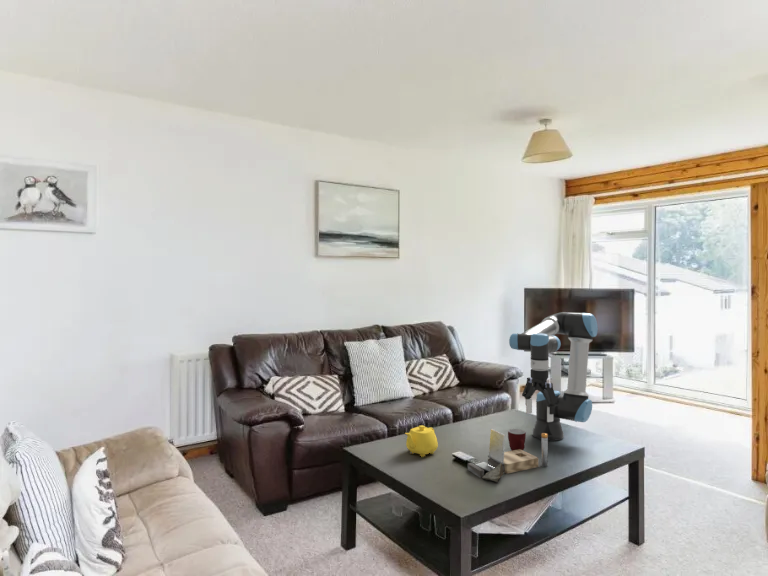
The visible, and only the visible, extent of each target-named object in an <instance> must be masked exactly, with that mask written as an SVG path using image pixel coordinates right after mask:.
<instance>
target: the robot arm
mask: <svg viewBox="0 0 768 576" xmlns="http://www.w3.org/2000/svg"><path fill="white" fill-rule="evenodd" d="M598 328H599V327H598V322H597V319H596V317H595V315H594V314H593V313H588V312H568V311H567V312H566V311H562V312H561V311H560V312H558V313H556V312H555V313H554V314H551V315H548V316H547V317H544V319H542V320H541V322H540V323H538V324H535V325H534V326H532V327H531V328H529V329H527V330H525V331H524V332H522V333H519V332H518V333H512V334H510V336H509V340H508V341H509V342H508V343H509V347H510V349H512V350H517V351H526V352H530V377H527V378H526V382H525V386H524V388H523V391H522V394H521V396H522V397H524V399H525V414H526V415H529V414H530V415H531V414H533V399H532V397H533V396H534V393H536V391H537V392H538V393H536V398H535V399H536V400H535V405H536V406H535V407H536V409H535V412H536V417H535V419H536V420H535V424H534V427H533V429H532V436H533V437H534V438H536V439H539V440H541V434H542V433H547V434H548V441H560V440H562V439H564V436H565V434H564V430H563V426H562V424H561V420H566V421H571V422H576V423H577V422H578V423H586V422H587V421H588V420H589V418H590V416H591V414H592V410H593V402H592V400H591V399H590V398H589V394H588V393H587V392H586V389H587V376H588V363H589V361H588V360H589V348H590V343H592V342H593V339H594V338H595V337H597V335H598V331H599V330H598ZM556 335H566V336H567V339H568V340H569V341H570V348H569V349H570V350H569V362H568V363H569V364H568V375H567V389H566V390H564V391H563V395H561V391H559V390H555V389H554V383H553V382H548V379H549V375H550V374H549V365H550V364H549V362H550V360H549V354H551V353H555V352H557V351H558V350H559V349H561V345H562V344H561V340H560V339H559V337H558V336H556Z"/></svg>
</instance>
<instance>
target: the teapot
mask: <svg viewBox="0 0 768 576" xmlns="http://www.w3.org/2000/svg"><path fill="white" fill-rule="evenodd" d="M404 434H405V435H406V436H407V437H406V441H405V442H406V443H405V446H406V448H407V449H408V451H410V452H412V453H415V454H416V455H417V454H418V455H419V457H420V456H421V457H420V458H425V457H426V455H428V454H429V453H430V455H433V454H435V452H436V450H438V447H439V443H438V438H437V436H436V433H435V429H434V428H433V427H427V426H425V425H418V426H416V427H413V428H410V430H409V432H405V433H404ZM424 456H425V457H424Z"/></svg>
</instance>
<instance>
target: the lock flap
mask: <svg viewBox="0 0 768 576" xmlns="http://www.w3.org/2000/svg"><path fill="white" fill-rule="evenodd" d="M505 445H506V434H504V433H502V432H499V431H497V430H496V429H494V428H491V429H490V436H489V449H488V455H487V457H488V459H489V458H490V459H492V460H494V461H496V462H498V463H501V464H502V465H504V464H505V463H504V452H505V447H506V446H505Z"/></svg>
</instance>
